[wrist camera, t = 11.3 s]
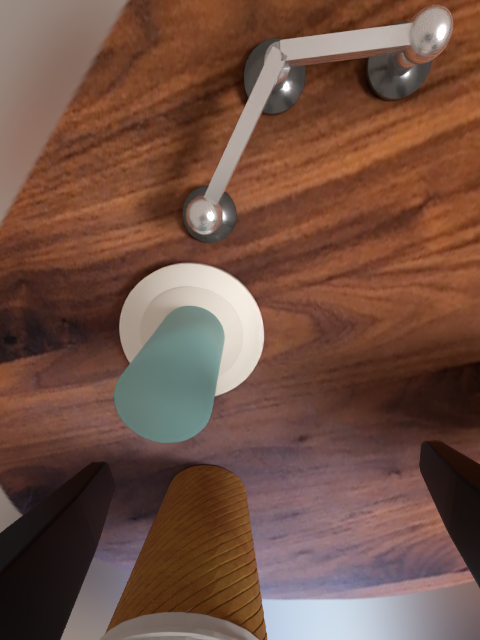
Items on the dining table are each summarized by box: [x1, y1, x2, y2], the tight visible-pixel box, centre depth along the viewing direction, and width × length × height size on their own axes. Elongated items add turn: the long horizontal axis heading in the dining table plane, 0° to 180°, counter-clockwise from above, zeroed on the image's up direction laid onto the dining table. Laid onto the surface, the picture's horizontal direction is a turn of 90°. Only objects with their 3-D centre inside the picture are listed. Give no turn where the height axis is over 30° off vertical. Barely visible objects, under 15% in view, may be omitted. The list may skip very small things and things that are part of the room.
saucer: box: [119, 262, 264, 396], centre depth 20 cm, size 9×9×1 cm
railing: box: [183, 5, 453, 243], centre depth 15 cm, size 13×9×4 cm
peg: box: [114, 306, 225, 443], centre depth 16 cm, size 4×4×7 cm
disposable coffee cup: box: [100, 465, 267, 640], centre depth 19 cm, size 10×10×12 cm
